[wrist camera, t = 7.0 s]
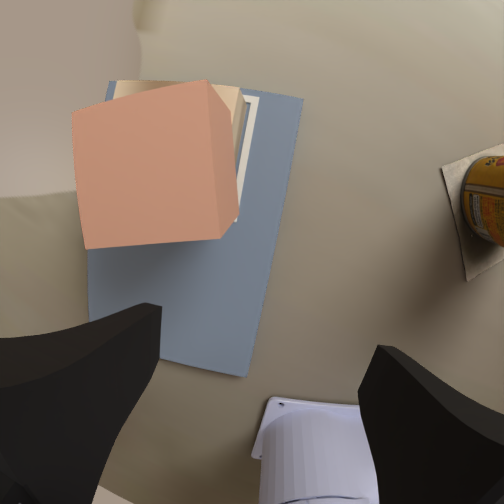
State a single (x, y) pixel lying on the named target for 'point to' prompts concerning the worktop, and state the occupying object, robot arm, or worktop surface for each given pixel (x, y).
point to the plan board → (211, 254)
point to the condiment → (478, 207)
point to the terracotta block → (155, 167)
